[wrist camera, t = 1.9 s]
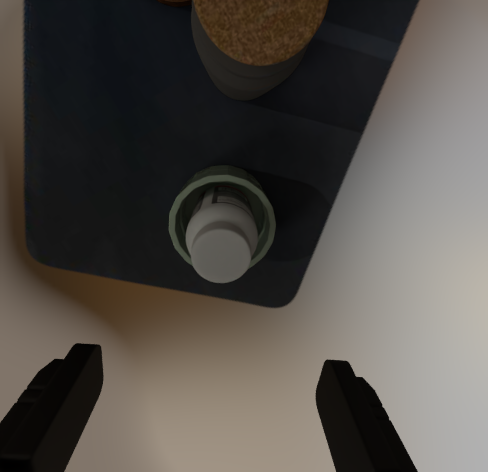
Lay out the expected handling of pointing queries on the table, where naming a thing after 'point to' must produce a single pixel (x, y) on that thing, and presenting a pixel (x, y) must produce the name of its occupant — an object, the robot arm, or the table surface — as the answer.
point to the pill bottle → (222, 234)
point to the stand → (176, 2)
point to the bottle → (253, 41)
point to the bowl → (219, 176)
